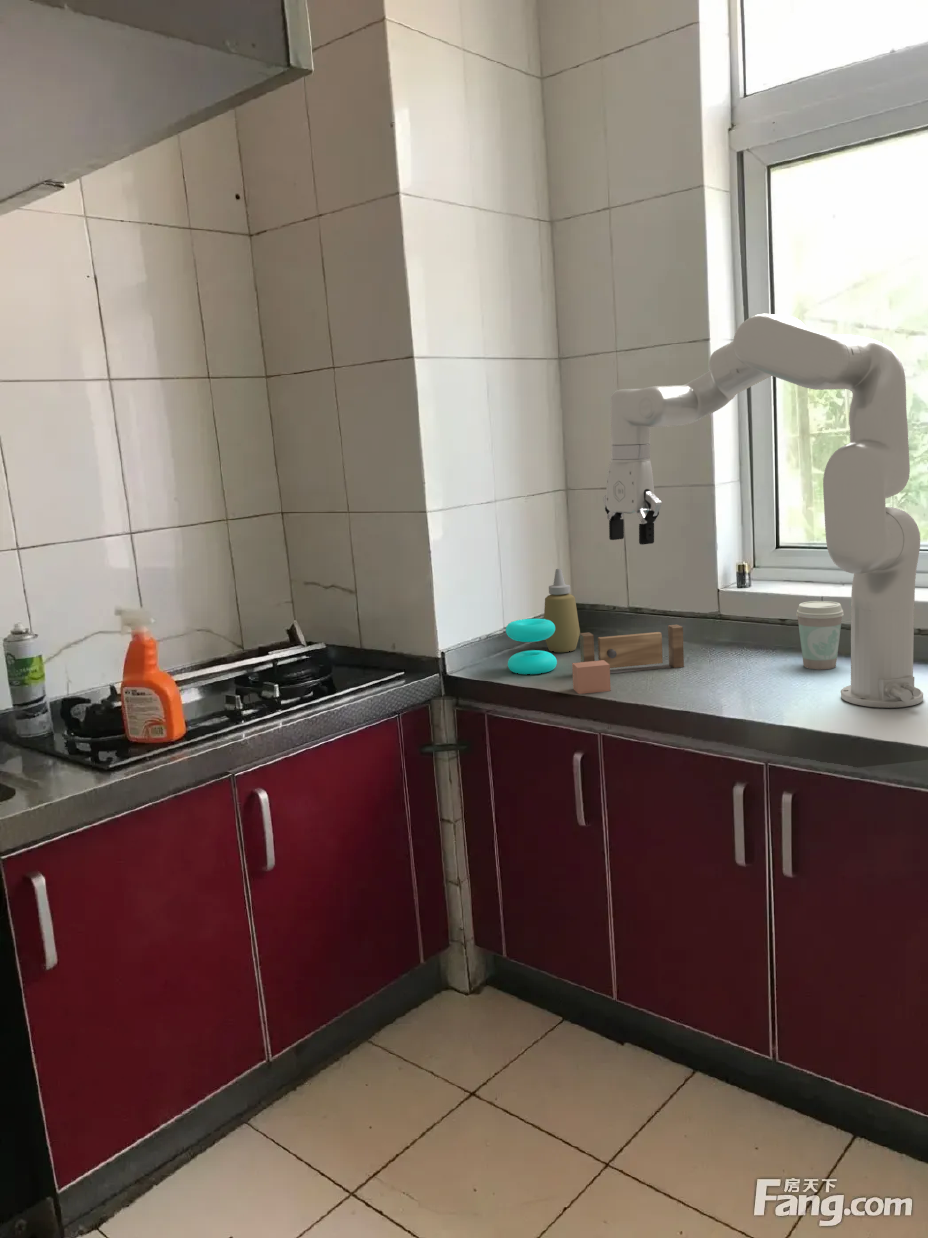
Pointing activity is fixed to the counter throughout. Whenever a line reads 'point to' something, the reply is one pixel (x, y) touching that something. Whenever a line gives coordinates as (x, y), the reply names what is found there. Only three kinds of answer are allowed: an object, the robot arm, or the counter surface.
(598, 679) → the salmon pink block
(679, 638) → the door frame
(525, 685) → the counter surface
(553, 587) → the squeeze bottle
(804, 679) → the counter surface
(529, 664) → the donuts
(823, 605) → the coffee cup
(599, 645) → the door
